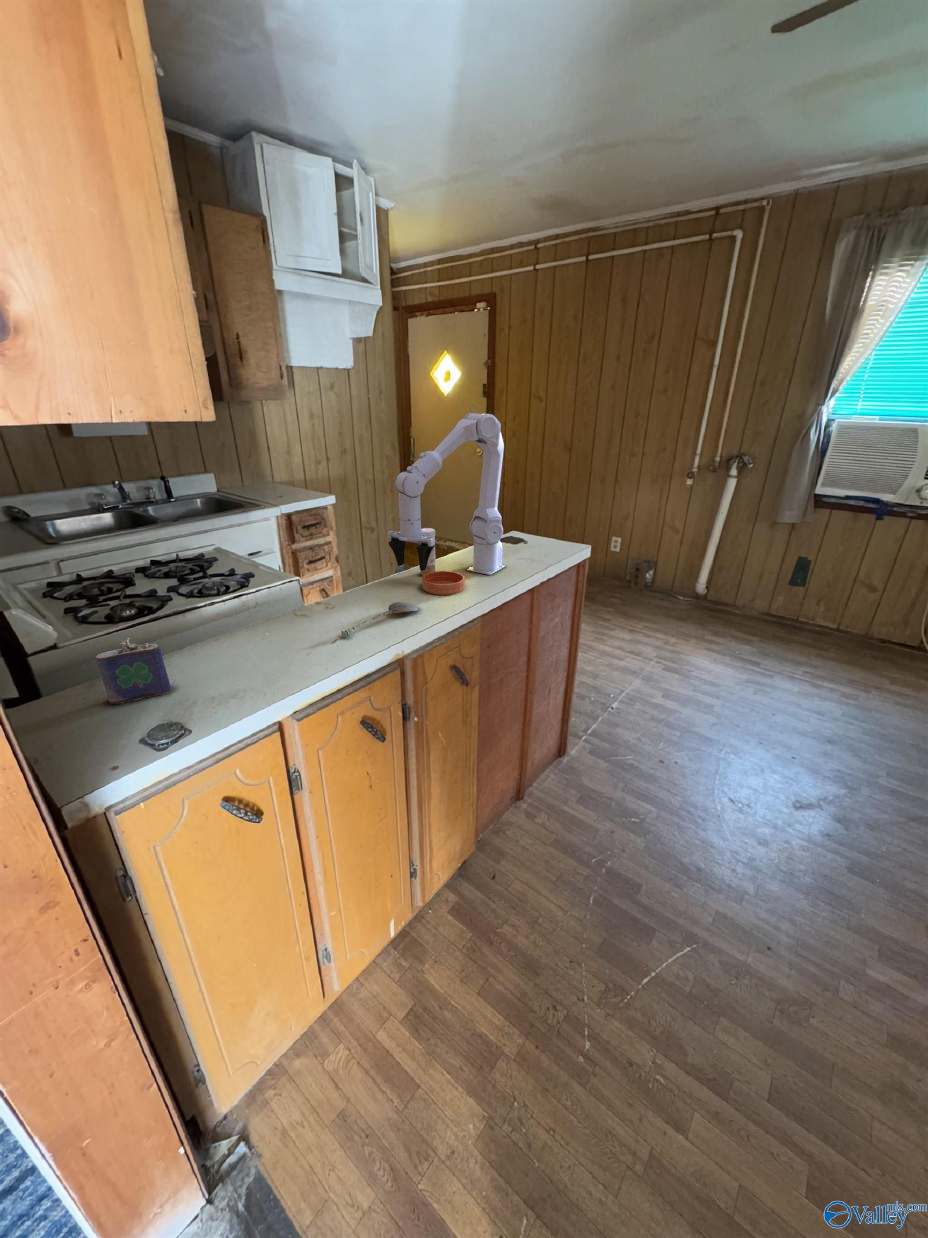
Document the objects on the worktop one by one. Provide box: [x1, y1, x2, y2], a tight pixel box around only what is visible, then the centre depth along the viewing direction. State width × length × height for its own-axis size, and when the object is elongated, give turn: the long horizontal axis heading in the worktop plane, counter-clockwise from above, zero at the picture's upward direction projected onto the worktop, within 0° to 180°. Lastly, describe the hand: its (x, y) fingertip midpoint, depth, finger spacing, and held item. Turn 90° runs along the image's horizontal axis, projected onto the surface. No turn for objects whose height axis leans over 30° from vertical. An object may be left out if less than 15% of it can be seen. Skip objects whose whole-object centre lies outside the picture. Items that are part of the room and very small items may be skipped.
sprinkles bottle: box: [419, 527, 436, 577], centre depth 145 cm, size 5×5×14 cm
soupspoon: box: [340, 601, 419, 638], centre depth 116 cm, size 22×3×7 cm
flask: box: [94, 637, 172, 705], centre depth 85 cm, size 9×3×11 cm, turn 117°
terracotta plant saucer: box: [421, 570, 466, 596], centre depth 137 cm, size 12×12×3 cm
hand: (411, 567), depth 140 cm, fingers open, 7 cm apart
